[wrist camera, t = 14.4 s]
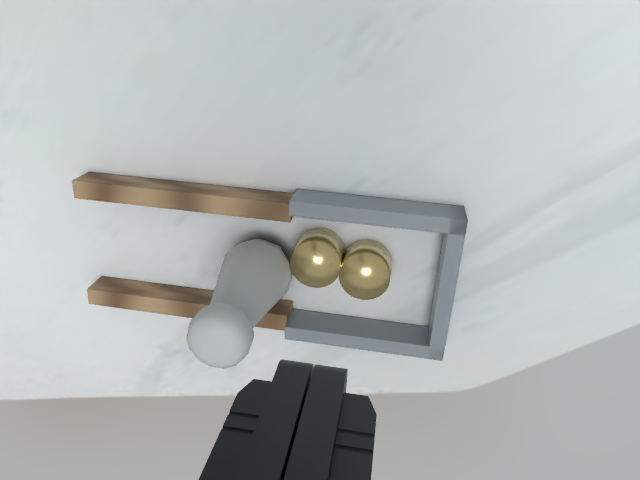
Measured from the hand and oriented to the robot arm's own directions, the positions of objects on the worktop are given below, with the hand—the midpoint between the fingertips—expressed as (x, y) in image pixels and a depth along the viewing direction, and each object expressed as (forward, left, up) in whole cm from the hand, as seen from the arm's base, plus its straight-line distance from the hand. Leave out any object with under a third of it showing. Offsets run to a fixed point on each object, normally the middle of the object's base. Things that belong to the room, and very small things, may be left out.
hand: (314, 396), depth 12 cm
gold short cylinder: (+4, -11, -31) cm, 33 cm away
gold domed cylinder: (+7, -9, -31) cm, 33 cm away
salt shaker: (+1, -15, -31) cm, 35 cm away
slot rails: (-4, -19, -31) cm, 37 cm away
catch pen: (+8, -9, -31) cm, 33 cm away
